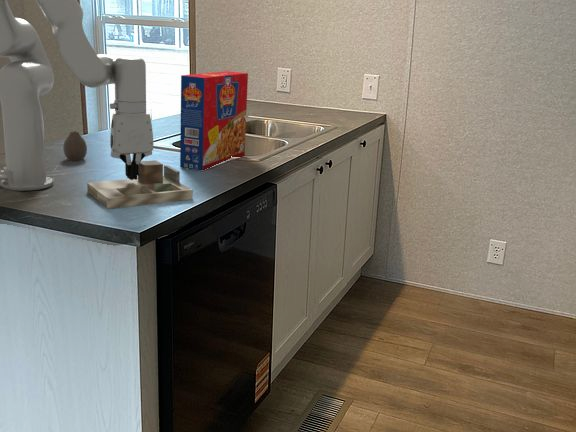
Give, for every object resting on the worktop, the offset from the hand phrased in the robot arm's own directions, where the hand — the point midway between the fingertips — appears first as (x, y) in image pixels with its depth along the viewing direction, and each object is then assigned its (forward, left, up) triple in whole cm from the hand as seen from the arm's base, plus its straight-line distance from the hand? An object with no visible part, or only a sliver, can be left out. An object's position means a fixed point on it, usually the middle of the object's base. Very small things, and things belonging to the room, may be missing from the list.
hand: (132, 178), depth 164 cm
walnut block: (+5, 0, -1) cm, 5 cm away
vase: (-2, +42, -4) cm, 42 cm away
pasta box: (+38, +26, -4) cm, 46 cm away
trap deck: (+1, -4, -4) cm, 5 cm away
